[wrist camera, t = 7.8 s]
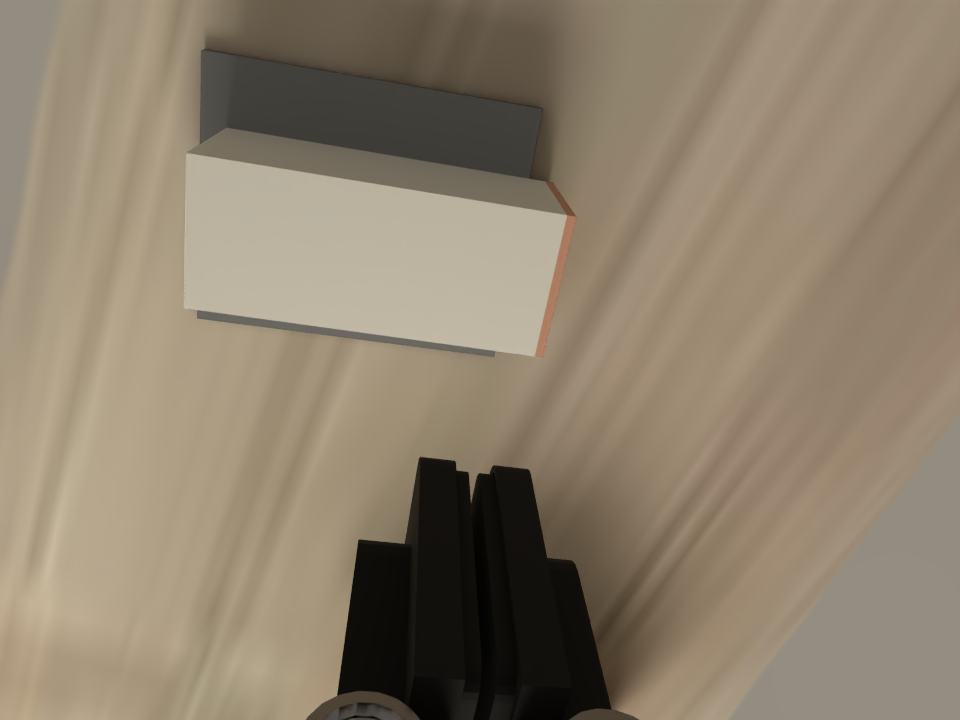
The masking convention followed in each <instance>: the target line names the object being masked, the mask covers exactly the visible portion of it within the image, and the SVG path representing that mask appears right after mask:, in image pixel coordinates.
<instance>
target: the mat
mask: <svg viewBox="0 0 960 720" xmlns="http://www.w3.org/2000/svg"><path fill="white" fill-rule="evenodd" d="M542 112H543V109H542V108H538V107H532V106H527V105H521V104H515V103H509V102H504V101H498V100H492V99H486V98H481V97H475V96H469V95H464V94H458V93H452V92H446V91H441V90H435V89H429V88H423V87H418V86H412V85H406V84H400V83H395V82H389V81H383V80H377V79H372V78H366V77H360V76H355V75H349V74H343V73H337V72H332V71H326V70H320V69H314V68H309V67H303V66H297V65H291V64H286V63H280V62H274V61H269V60H263V59H257V58H251V57H246V56H240V55H234V54H228V53H223V52H217V51H211V50H205V49H204V50H201V111H200V144H201V143H203V142H204V141H206V140H208V139H209V138H211V137H212V136H214V135H216V134H217V133H219V132H220V131H222V130H224V129H225V128H232V129H238V130H244V131H250V132H256V133H261V134H267V135H273V136H279V137H285V138H291V139H297V140H303V141H309V142H315V143H321V144H327V145H332V146H338V147H344V148H350V149H356V150H362V151H368V152H374V153H380V154H386V155H392V156H398V157H403V158H409V159H415V160H421V161H427V162H433V163H439V164H445V165H451V166H457V167H463V168H469V169H474V170H480V171H486V172H492V173H498V174H504V175H510V176H516V177H522V178H528V179H529V178H530V173H531V168H532V162H533V157H534V152H535V147H536V142H537V137H538V132H539V127H540V122H541V117H542ZM197 318H198V319H206V320H214V321H221V322H229V323H237V324H244V325H252V326H260V327H268V328H275V329H283V330H291V331H298V332H306V333H314V334H321V335H329V336H337V337H345V338H352V339H360V340H368V341H375V342H383V343H391V344H398V345H406V346H414V347H422V348H429V349H437V350H445V351H452V352H460V353H468V354H476V355H483V356H491V357H494V355H495V351H492V350H484V349H477V348H470V347H463V346H455V345H448V344H441V343H433V342H426V341H419V340H412V339H404V338H397V337H390V336H383V335H375V334H368V333H361V332H353V331H346V330H339V329H332V328H324V327H317V326H310V325H303V324H295V323H288V322H281V321H273V320H266V319H259V318H252V317H244V316H237V315H230V314H223V313H215V312H208V311H201V310H197Z"/></svg>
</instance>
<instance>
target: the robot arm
mask: <svg viewBox="0 0 960 720" xmlns="http://www.w3.org/2000/svg"><path fill="white" fill-rule="evenodd" d="M306 720H639V719H637V718H635V717H634V716H631V715H628V714H625V713H622V712H620V711H617V710H611V706H610V702H609V698H608V694H607V689H606V685H605V681H604V677H603V673H602V669H601V665H600V661H599V656H598V652H597V648H596V644H595V640H594V636H593V632H592V628H591V624H590V619H589V615H588V611H587V607H586V603H585V599H584V595H583V591H582V586H581V582H580V578H579V574H578V571H577V568H576V565H575V563H574V562H573V561H571V560H561V559H551V558H547V555H546V550H545V545H544V540H543V535H542V530H541V525H540V519H539V514H538V509H537V504H536V499H535V494H534V489H533V484H532V478H531V474H530V471H529V470H528V469H522V468H513V467H504V466H495V465H494V466H493V467H492V469H491V471H490V474H481V473H479V474H478V476H477V479H476V483H475V488H474V493H473V498H472V503H471V500H470V485H469V473H468V472H463V471H456V462H455V461H451V460H442V459H434V458H425V457H420V458H419V462H418V467H417V473H416V479H415V485H414V491H413V497H412V503H411V509H410V516H409V522H408V528H407V534H406V540H405V544H399V543H389V542H379V541H369V540H359V541H358V548H357V555H356V562H355V570H354V577H353V584H352V592H351V599H350V606H349V613H348V621H347V628H346V635H345V643H344V650H343V657H342V665H341V672H340V679H339V687H338V694H337V696H336V697H334V698H332V699H330V700H328V701H326V702H324V703H322V704H321V705H320V706H319V707H318V708H317V709H316V710H315V711H314V712H312V713H311V714H310V715H309V716H308V717H307V719H306Z"/></svg>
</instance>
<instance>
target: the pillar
mask: <svg viewBox="0 0 960 720" xmlns="http://www.w3.org/2000/svg"><path fill="white" fill-rule="evenodd" d="M575 220H576V216H575V214H574V213H573V211H572V210H571V208H570V207H569V205H568V204H567V203H566V201H565V200H564V198H563V197H562V195H561V194H560V192H559V191H558V190H557V188H556V187H555V185H554V184H553V183H551V182H546V181H540V180H534V179H528V178H522V177H516V176H510V175H504V174H498V173H492V172H486V171H480V170H474V169H469V168H463V167H457V166H451V165H445V164H439V163H433V162H427V161H421V160H415V159H409V158H403V157H398V156H392V155H386V154H380V153H374V152H368V151H362V150H356V149H350V148H344V147H338V146H332V145H327V144H321V143H315V142H309V141H303V140H297V139H291V138H285V137H279V136H273V135H267V134H261V133H256V132H250V131H244V130H238V129H232V128H225V129H224V130H222V131H220V132H219V133H217V134H216V135H214V136H212V137H211V138H209V139H208V140H206V141H204V142H203V143H201V144H200V145H198V146H196V147H195V148H193V149H192V150H190V151H188V152H187V153H186V193H185V260H184V308H186V309H193V310H201V311H208V312H215V313H223V314H230V315H237V316H244V317H252V318H259V319H266V320H273V321H281V322H288V323H295V324H303V325H310V326H317V327H324V328H332V329H339V330H346V331H353V332H361V333H368V334H375V335H383V336H390V337H397V338H404V339H412V340H419V341H426V342H433V343H441V344H448V345H455V346H463V347H470V348H477V349H484V350H492V351H499V352H506V353H514V354H521V355H528V356H535V357H543V356H544V352H545V348H546V343H547V339H548V335H549V331H550V326H551V322H552V318H553V314H554V309H555V305H556V301H557V297H558V292H559V288H560V284H561V280H562V275H563V271H564V267H565V263H566V258H567V254H568V250H569V246H570V241H571V237H572V233H573V229H574V224H575Z"/></svg>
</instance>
